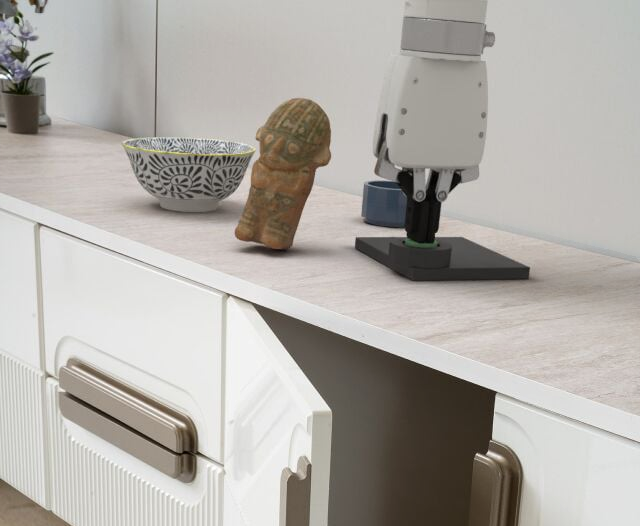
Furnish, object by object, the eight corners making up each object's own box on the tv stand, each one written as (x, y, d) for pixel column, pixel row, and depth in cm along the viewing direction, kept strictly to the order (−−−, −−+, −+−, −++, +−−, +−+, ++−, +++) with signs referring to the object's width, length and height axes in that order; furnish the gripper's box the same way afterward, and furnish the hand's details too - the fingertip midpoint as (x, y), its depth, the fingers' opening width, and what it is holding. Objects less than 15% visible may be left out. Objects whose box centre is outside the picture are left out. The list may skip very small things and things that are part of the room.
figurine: (230, 251, 116) (236, 97, 110) (257, 238, 123) (264, 93, 117) (308, 261, 114) (318, 106, 108) (331, 247, 121) (341, 101, 115)
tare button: (427, 254, 114) (429, 237, 113) (441, 261, 111) (443, 243, 110) (398, 254, 113) (400, 237, 112) (411, 261, 110) (413, 244, 109)
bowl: (98, 208, 133) (97, 142, 130) (156, 191, 147) (157, 132, 144) (223, 225, 128) (226, 157, 126) (271, 206, 142) (274, 145, 140)
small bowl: (403, 217, 142) (407, 180, 140) (427, 228, 136) (431, 190, 134) (352, 216, 140) (355, 179, 138) (374, 228, 134) (377, 189, 132)
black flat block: (461, 247, 126) (464, 220, 125) (529, 279, 114) (533, 249, 112) (345, 248, 121) (347, 220, 120) (402, 281, 109) (405, 250, 107)
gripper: (493, 44, 110) (469, 233, 117) (351, 34, 104) (335, 232, 112) (532, 49, 103) (504, 248, 110) (383, 38, 98) (364, 248, 105)
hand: (420, 240), depth 111 cm, fingers closed
